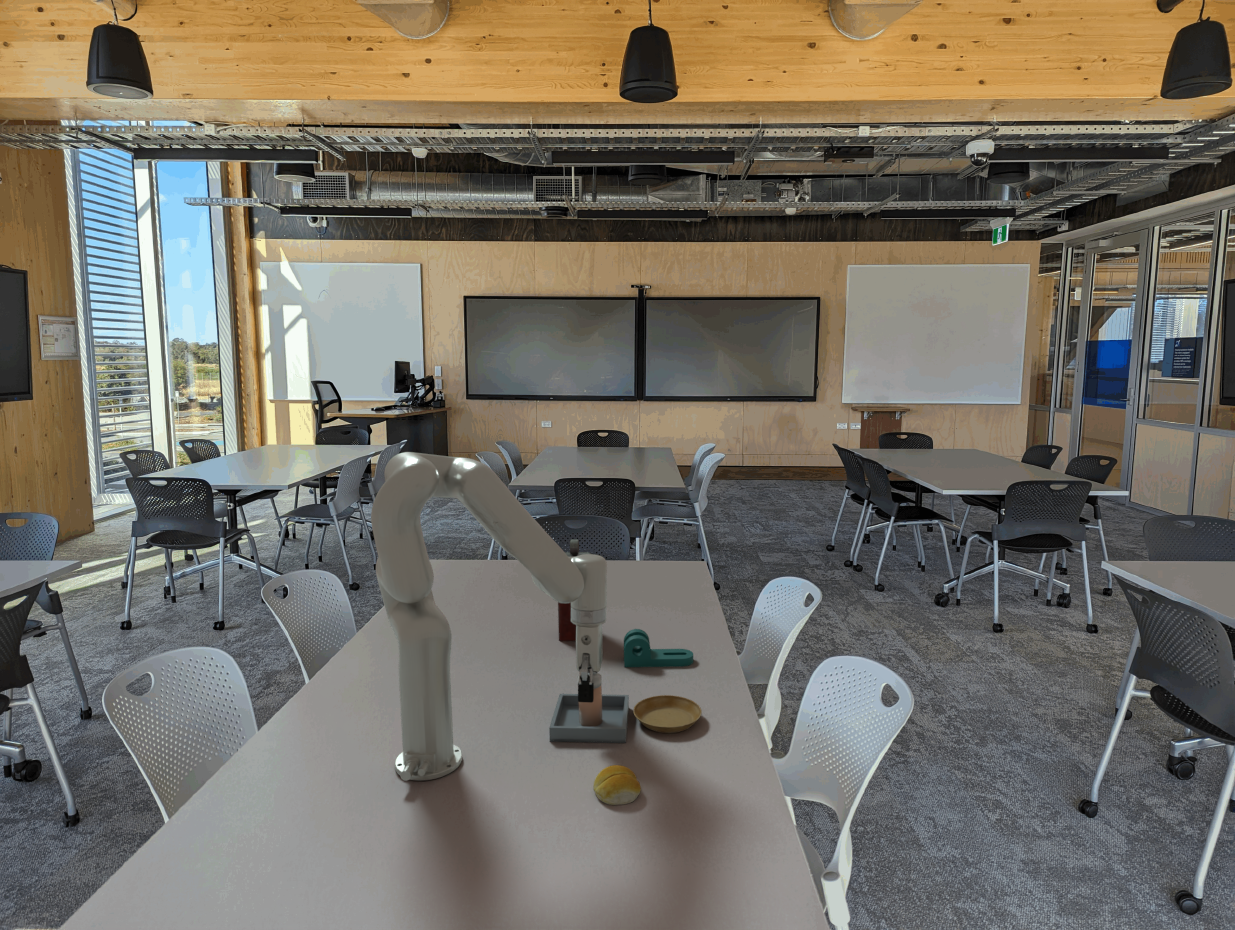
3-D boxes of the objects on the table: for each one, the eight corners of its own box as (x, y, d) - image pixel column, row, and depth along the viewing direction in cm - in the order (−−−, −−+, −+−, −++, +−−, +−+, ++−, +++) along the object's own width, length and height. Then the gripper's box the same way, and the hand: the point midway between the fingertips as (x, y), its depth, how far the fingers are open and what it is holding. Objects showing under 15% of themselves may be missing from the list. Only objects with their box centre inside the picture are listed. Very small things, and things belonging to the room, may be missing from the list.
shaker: (601, 727, 153) (600, 682, 151) (577, 726, 153) (575, 682, 152) (603, 715, 158) (602, 671, 156) (580, 715, 158) (579, 671, 157)
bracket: (624, 668, 185) (624, 638, 184) (623, 657, 192) (623, 629, 191) (694, 667, 185) (694, 637, 184) (691, 656, 192) (691, 628, 191)
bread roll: (632, 775, 136) (632, 755, 136) (644, 802, 127) (644, 781, 127) (588, 781, 134) (588, 761, 134) (599, 809, 126) (598, 788, 125)
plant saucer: (644, 742, 148) (644, 730, 148) (625, 710, 162) (625, 699, 162) (712, 733, 151) (712, 721, 151) (687, 702, 166) (687, 691, 165)
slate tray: (625, 742, 147) (625, 729, 147) (549, 741, 148) (549, 727, 148) (628, 707, 163) (628, 694, 162) (559, 706, 164) (559, 693, 163)
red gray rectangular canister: (598, 641, 203) (597, 543, 199) (558, 640, 203) (556, 543, 200) (600, 629, 212) (599, 536, 208) (562, 629, 212) (560, 536, 208)
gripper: (603, 628, 143) (602, 710, 145) (609, 601, 161) (608, 675, 163) (565, 627, 144) (565, 709, 146) (575, 600, 161) (575, 674, 163)
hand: (588, 691), depth 154 cm, fingers open, 9 cm apart
